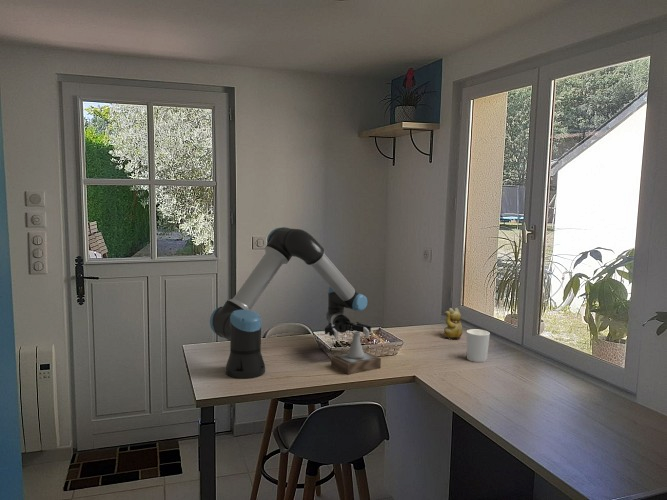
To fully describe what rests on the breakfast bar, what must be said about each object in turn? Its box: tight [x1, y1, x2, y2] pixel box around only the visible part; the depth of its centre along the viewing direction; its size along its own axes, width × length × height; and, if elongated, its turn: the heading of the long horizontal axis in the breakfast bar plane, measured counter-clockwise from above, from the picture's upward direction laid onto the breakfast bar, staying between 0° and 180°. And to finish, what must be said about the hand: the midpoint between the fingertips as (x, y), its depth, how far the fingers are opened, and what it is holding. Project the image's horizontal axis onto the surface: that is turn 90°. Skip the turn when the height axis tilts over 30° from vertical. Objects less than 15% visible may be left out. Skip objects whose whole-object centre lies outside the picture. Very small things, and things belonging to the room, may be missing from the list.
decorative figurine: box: [443, 307, 463, 340], centre depth 267 cm, size 10×8×15 cm
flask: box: [346, 331, 365, 359], centre depth 219 cm, size 7×7×10 cm
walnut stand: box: [330, 350, 382, 375], centre depth 219 cm, size 16×12×4 cm
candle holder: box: [466, 328, 491, 363], centre depth 233 cm, size 10×10×12 cm
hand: (352, 334), depth 225 cm, fingers open, 13 cm apart
